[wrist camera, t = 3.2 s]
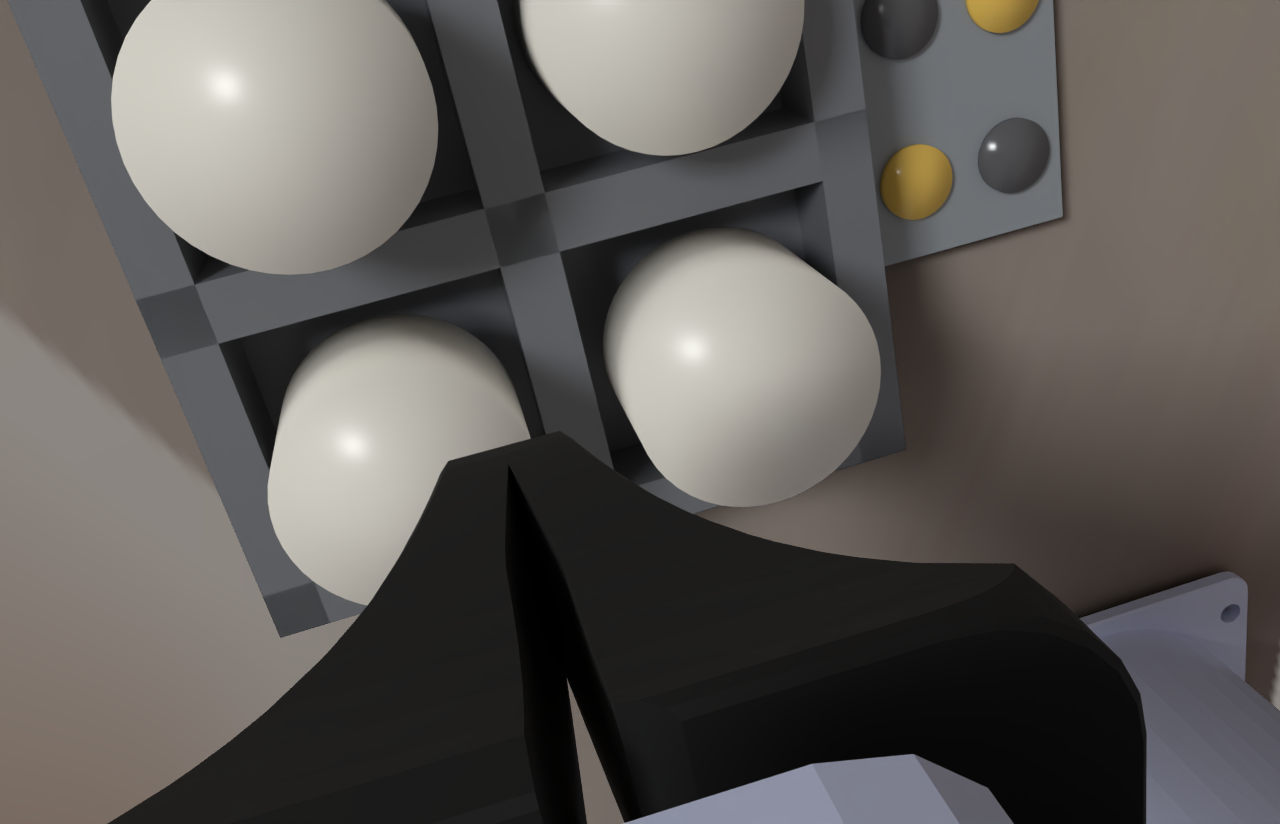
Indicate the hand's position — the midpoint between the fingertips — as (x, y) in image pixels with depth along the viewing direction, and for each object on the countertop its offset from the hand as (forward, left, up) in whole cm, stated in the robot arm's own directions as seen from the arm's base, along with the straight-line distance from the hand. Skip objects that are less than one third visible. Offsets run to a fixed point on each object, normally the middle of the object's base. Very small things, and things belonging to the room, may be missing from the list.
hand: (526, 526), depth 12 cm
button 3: (+4, -4, -9) cm, 10 cm away
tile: (+1, -10, -9) cm, 14 cm away
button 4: (+4, +2, -7) cm, 9 cm away
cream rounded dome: (-2, -4, -7) cm, 9 cm away
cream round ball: (-2, +2, -7) cm, 8 cm away
